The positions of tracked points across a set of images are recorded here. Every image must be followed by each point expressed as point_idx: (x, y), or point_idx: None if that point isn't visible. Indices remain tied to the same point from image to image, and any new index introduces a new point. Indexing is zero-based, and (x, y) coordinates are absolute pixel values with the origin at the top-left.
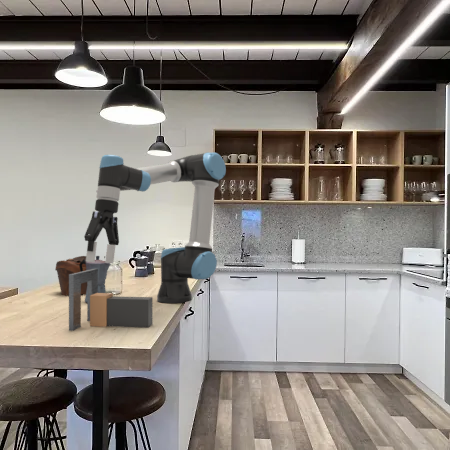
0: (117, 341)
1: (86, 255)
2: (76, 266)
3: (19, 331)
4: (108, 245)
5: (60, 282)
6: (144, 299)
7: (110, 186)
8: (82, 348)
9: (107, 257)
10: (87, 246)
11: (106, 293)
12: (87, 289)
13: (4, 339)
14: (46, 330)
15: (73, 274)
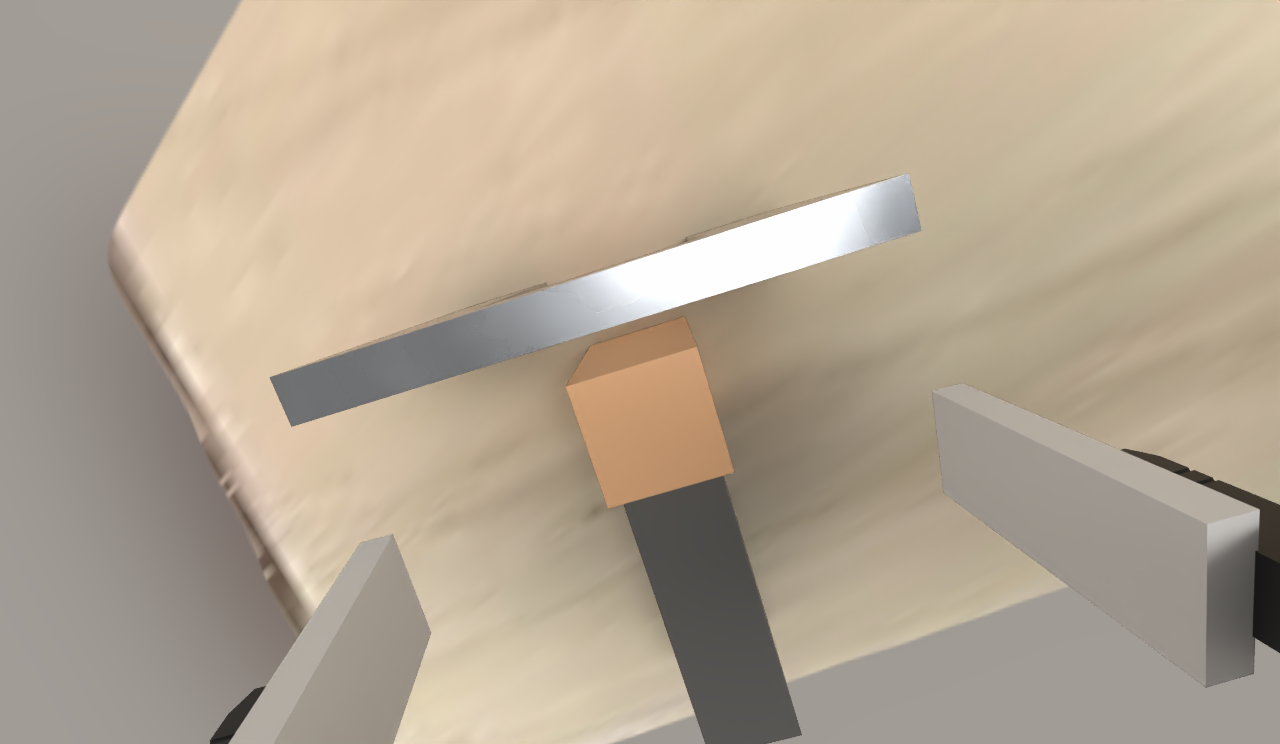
0: (425, 654)
1: (329, 593)
2: None
3: (309, 54)
4: (1180, 541)
5: None
6: (702, 734)
7: None
8: (272, 592)
9: (984, 444)
10: (253, 706)
11: (702, 437)
12: (701, 236)
13: (165, 135)
14: (403, 188)
15: (300, 417)
